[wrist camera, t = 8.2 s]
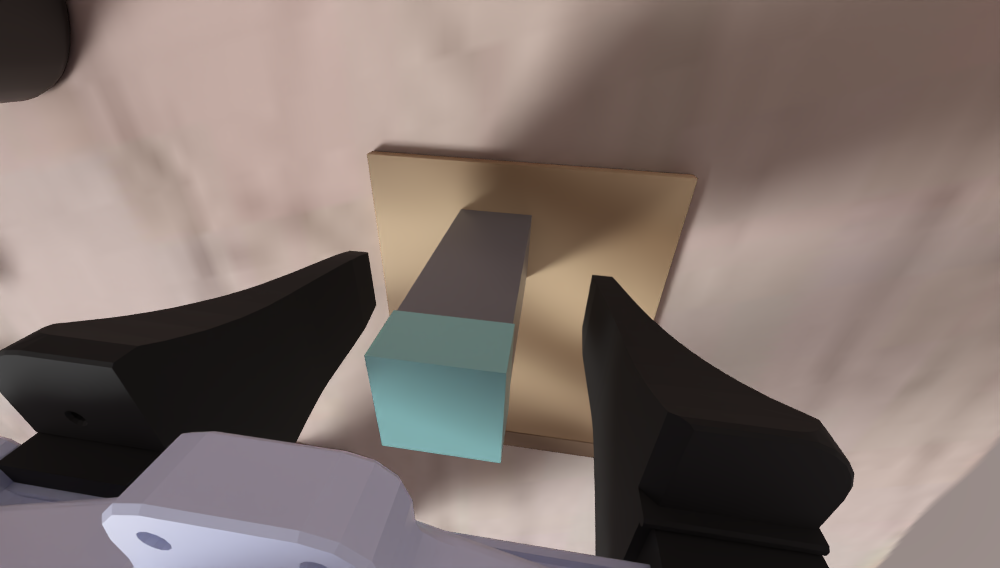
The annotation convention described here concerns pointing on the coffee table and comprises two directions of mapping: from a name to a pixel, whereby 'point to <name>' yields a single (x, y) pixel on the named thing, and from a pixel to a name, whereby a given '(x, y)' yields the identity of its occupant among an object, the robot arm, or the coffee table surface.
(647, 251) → the tan rectangular board
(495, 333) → the teal block
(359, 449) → the coffee table surface
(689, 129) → the coffee table surface
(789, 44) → the coffee table surface
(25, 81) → the mug
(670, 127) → the coffee table surface
